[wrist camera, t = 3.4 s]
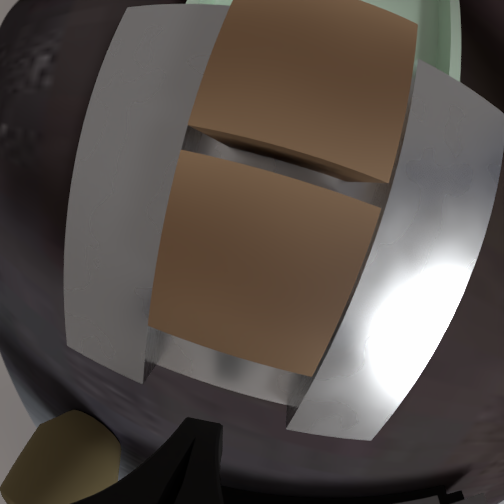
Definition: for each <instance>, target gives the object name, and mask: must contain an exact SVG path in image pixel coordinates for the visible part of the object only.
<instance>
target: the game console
mask: <svg viewBox="0 0 504 504" xmlns="http://www.w3.org/2000/svg"><path fill="white" fill-rule="evenodd" d="M221 490H222V496H223V501H224V504H488V503H487V500H486V498H485V495H484V493H480V494H478V495H475V496H473V497H470V498H467V499H464V496H463V494H462V491H457V492H454V493H450V494H446V491H445V488H444V485H443V486H439V487H434V488H430V489H425V490H419V491H414V492H408V493H401V494H394V495H386V496H375V497H362V498H304V497H290V496H279V495H271V494H263V493H256V492H250V491H244V490H238V489H233V488H228V487H224V486H221Z"/></svg>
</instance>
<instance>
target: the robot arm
mask: <svg viewBox="0 0 504 504" xmlns="http://www.w3.org/2000/svg"><path fill="white" fill-rule="evenodd" d="M222 435H223V426H222V425H221V424H220V423H214V422H209V421H204V420H199V419H194V418H190V417H187V418H185V420H184V421H183V422H182V424H181V425H180V426H179V427H178V429H177V430H176V431H175V432H174V433H173V434H172V435H171V437H170V438H169V439H168V440H167V441H166V442H165V443H164V444H163V445H162V446H161V447H160V448H159V449H158V450H157V451H156V452H155V453H154V454H153V455H152V456H151V457H149V458H148V459H147V460H146V461H145V462H144V463H142V464H141V465H140V466H139V467H138V468H136V469H135V470H134V471H132V472H131V473H130V474H128V475H127V476H125V477H124V478H122V479H121V480H119V481H118V482H116V483H114V484H113V485H111V486H109V487H107V488H106V489H104V490H102V491H100V492H98V493H96V494H94V495H91V496H89V497H86V498H84V499H81V500H79V501H76V502H74V503H71V504H224V501H223V496H222V490H221V483H220V474H219V471H220V462H221V456H222Z"/></svg>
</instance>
